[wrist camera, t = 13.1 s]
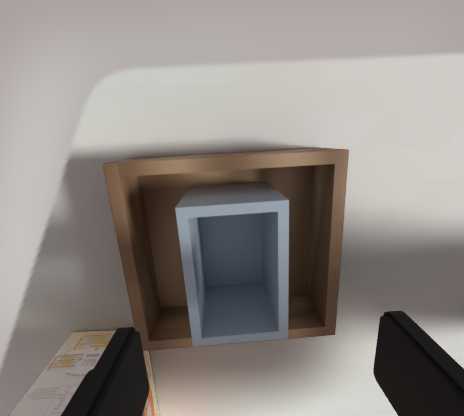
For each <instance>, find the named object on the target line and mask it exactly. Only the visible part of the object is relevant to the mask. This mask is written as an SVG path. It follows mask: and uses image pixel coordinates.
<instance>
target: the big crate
mask: <svg viewBox="0 0 464 416" xmlns="http://www.w3.org/2000/svg"><path fill="white" fill-rule="evenodd" d="M348 155H349V150H346V149H331V148H305V149H288V150H271V151H254V152H236V153H219V154H202V155H184V156H167V157H150V158H133V159H126V160H121V161H116V162H111V163H105V164H103V168H104V173H105V179H106V184H107V189H108V194H109V199H110V204H111V209H112V214H113V219H114V224H115V229H116V234H117V239H118V245H119V250H120V255H121V260H122V265H123V270H124V275H125V280H126V285H127V290H128V295H129V300H130V305H131V311H132V316H133V321H134V326H135V331H139V332H140V337H141V342H142V347H143V351H149V350H160V349H172V348H184V347H193V344H192V336H191V328H190V320H189V312H188V304H187V296H186V289H185V281H184V273H183V265H182V257H181V249H180V242H179V234H178V226H177V218H176V210H175V208H176V206H177V205H178V203H179V202H180V200H181V199H182V197H183V195H184V194H185V192H186V191H187V189H188V188H189V187H196V186H211V185H226V184H240V183H255V182H268V183H269V184H271V185H272V186H273V187H274V188H275V189H277V190H278V191H279V192H280V193H281V194H282V195H284V196H285V197H286V198H287V199H288V200H289V295H288V339H290V338H302V337H314V336H326V335H335V328H336V314H337V301H338V288H339V274H340V261H341V248H342V235H343V221H344V208H345V195H346V181H347V168H348ZM276 340H278V339H276ZM265 341H267V340H265ZM254 342H255V341H254Z"/></svg>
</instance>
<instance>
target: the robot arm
mask: <svg viewBox="0 0 464 416" xmlns="http://www.w3.org/2000/svg"><path fill="white" fill-rule="evenodd" d="M374 376H375V379H376V381H377V382H378V384H379V386H380V387H381V389H382V390H383V392H384V394H385V395H386V397H387V398H388V400H389V402H390V403H391V405H392V406H393V408H394V410H395V411H396V413H397V414H398V416H464V369H463V368H462V367H461V366H460V365H459V364H458V363H457V362H456V361H455V360H454V359H453V358H452V357H451V356H450V355H449V354H447V353H446V352H445V351H444V350H443V349H442V348H441V347H440V346H439V345H438V344H437V343H436V342H435V341H434V340H433V339H432V338H431V337H430V336H429V335H428V334H427V333H426V332H424V331H423V330H422V329H421V328H420V327H419V326H418V325H417V324H416V323H415V322H414V321H413V320H412V319H411V318H410V317H409V316H408V315H407V314H406V313H404V312H403V311H391V312H385V313H384V315H383V316H381V318H380V323H379V331H378V339H377V347H376V354H375V362H374ZM148 394H149V379H148V374H147V369H146V363H145V358H144V353H143V347H142V342H141V337H140V332H139V331H135V328H134V327H128V328H118V329H117V330H116V331H115V333H114V335H113V336H112V338H111V340H110V341H109V343H108V345H107V347H106V348H105V350H104V352H103V353H102V355H101V357H100V358H99V360H98V362H97V364H96V365H95V367H94V369H92V370H90V371H89V372H88V373H87V374H86V375H85V377H84V378H83V380H82V381H81V383H80V385H79V386H78V388H77V390H76V391H75V393H74V395H73V396H72V398H71V400H70V401H69V403H68V405H67V406H66V408H65V409H64V411H63V413H62V414H61V416H142V414H143V411H144V408H145V405H146V401H147V398H148Z"/></svg>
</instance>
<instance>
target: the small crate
mask: <svg viewBox="0 0 464 416" xmlns="http://www.w3.org/2000/svg"><path fill="white" fill-rule="evenodd" d="M175 210H176V218H177V226H178V234H179V242H180V249H181V257H182V265H183V273H184V281H185V289H186V296H187V304H188V312H189V320H190V328H191V336H192V344H193V347H198V346H209V345H220V344H231V343H243V342H254V341H265V340H276V339H288V295H289V200H288V199H287V198H286V197H285V196H284V195H282V194H281V193H280V192H279V191H278V190H277V189H275V188H274V187H273V186H272V185H271V184H269V183H268V182H255V183H240V184H226V185H211V186H196V187H189V188H188V189H187V191H186V192H185V194H184V195H183V197H182V199H181V200H180V202H179V203H178V205H177V206H176V208H175Z"/></svg>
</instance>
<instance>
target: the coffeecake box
mask: <svg viewBox="0 0 464 416" xmlns="http://www.w3.org/2000/svg"><path fill="white" fill-rule="evenodd" d="M115 331H116V330H113V331H82V332H73V333H72V334H71V335H70V336H69V338H68V339H67V340H66V342H65V343H64V344H63V346H62V347H61V348H60V349H59V351H58V352H57V353H56V355H55V356H54V357H53V359H52V360H51V361H50V362H49V364H48V365H47V366H46V368H45V369H44V370H43V372H42V373H41V374H40V376H39V377H38V378H37V379H36V381H35V382H34V383H33V385H32V386H31V387H30V388H29V390H28V391H27V392H26V394H25V395H24V396H23V398H22V399H21V400H20V401H19V403H18V404H17V405H16V407H15V408H14V409H13V411H12V412H11V413H10V415H9V416H61V414H62V413H63V411H64V409H65V408H66V406H67V405H68V403H69V401H70V400H71V398H72V396H73V395H74V393H75V391H76V390H77V388H78V386H79V385H80V383H81V381H82V380H83V378H84V377H85V375H86V374H87V373H88V372H89V371H90V370H92V369H94V367H95V365H96V364H97V362H98V360H99V358H100V357H101V355H102V353H103V352H104V350H105V348H106V347H107V345H108V343H109V341H110V340H111V338H112V336H113V335H114V333H115ZM143 353H144V358H145V363H146V369H147V374H148V379H149V394H148V398H147V401H146V405H145V408H144V411H143V414H142V416H159V410H158V404H157V398H156V391H155V385H154V379H153V373H152V368H151V361H150V355H149V351H143Z"/></svg>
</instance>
